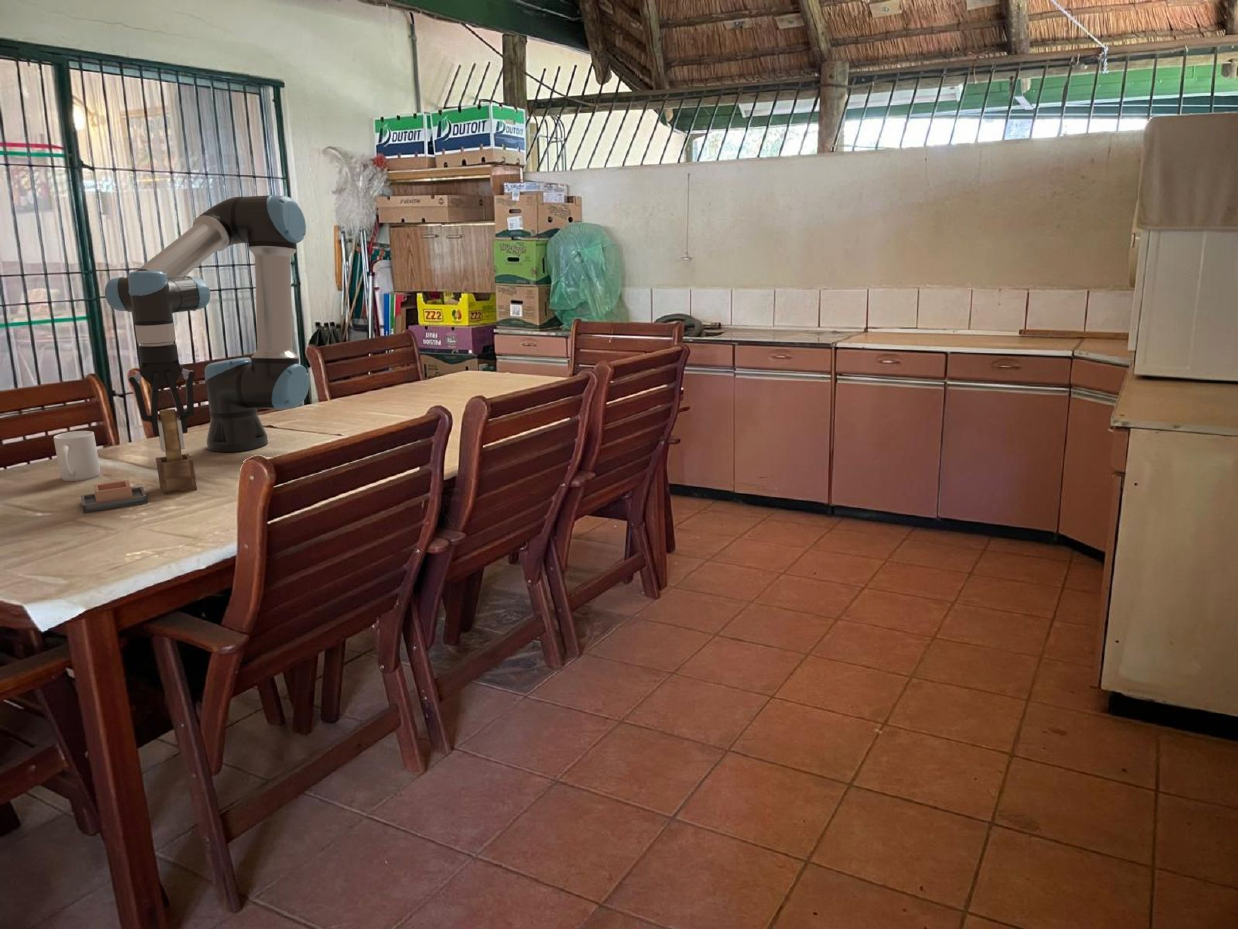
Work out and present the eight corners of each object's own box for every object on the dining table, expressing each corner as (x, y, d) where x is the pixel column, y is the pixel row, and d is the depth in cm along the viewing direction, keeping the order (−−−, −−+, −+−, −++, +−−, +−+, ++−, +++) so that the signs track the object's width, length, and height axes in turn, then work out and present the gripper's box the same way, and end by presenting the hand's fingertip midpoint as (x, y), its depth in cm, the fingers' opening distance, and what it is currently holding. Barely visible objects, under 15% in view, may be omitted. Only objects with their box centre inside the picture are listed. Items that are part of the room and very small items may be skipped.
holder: (130, 493, 202) (128, 479, 201) (133, 500, 196) (131, 486, 196) (95, 498, 199) (93, 484, 198) (97, 506, 193) (94, 492, 192)
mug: (85, 484, 213) (77, 441, 210) (47, 486, 212) (39, 443, 209) (106, 471, 224) (99, 430, 221) (70, 473, 223) (62, 431, 220)
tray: (143, 493, 204) (142, 486, 204) (147, 503, 197) (146, 496, 197) (81, 502, 198) (80, 495, 198) (83, 513, 191) (82, 505, 191)
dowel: (185, 481, 209) (174, 408, 205) (186, 485, 207) (176, 410, 202) (169, 484, 208) (158, 410, 203) (171, 487, 205) (159, 412, 201)
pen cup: (192, 482, 212) (188, 453, 210) (197, 489, 206) (192, 459, 205) (160, 487, 209) (155, 457, 207) (163, 494, 203) (159, 464, 201)
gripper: (195, 338, 206) (209, 440, 212) (113, 345, 198) (130, 451, 204) (200, 342, 200) (214, 447, 206) (116, 348, 192) (133, 458, 198)
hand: (172, 448), depth 205 cm, fingers closed on dowel, 3 cm apart
